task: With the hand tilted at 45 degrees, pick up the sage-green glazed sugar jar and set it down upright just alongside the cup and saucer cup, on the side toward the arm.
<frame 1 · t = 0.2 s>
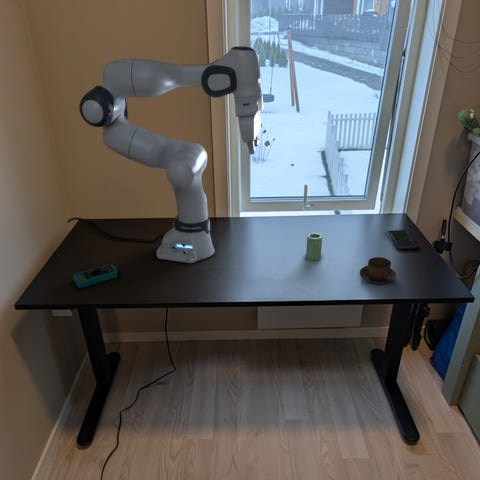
hand: (254, 149, 153), 39 cm above the table, tool pointing down, fingers open, 8 cm apart
cup and saucer: (377, 278, 158), on the table
digital multimeter: (96, 279, 164), on the table
phone: (401, 241, 181), on the table
sugar jar: (313, 256, 172), on the table
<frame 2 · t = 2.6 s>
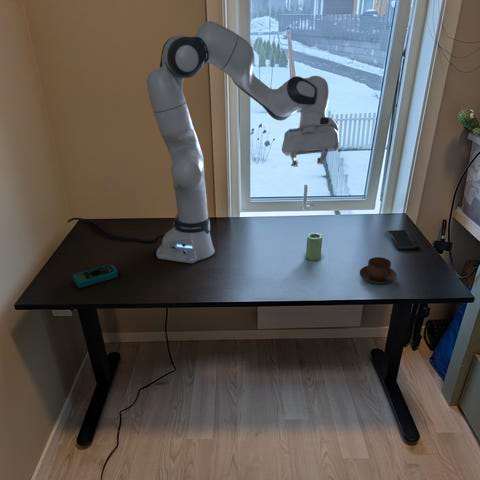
hand: (307, 165, 160), 32 cm above the table, tool tilted 35°, fingers open, 8 cm apart
nothing on the table moved.
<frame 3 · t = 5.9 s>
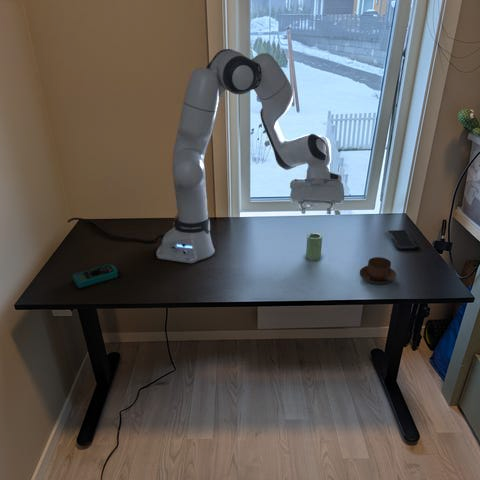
hand: (316, 213, 173), 13 cm above the table, tool tilted 45°, fingers open, 8 cm apart
nothing on the table moved.
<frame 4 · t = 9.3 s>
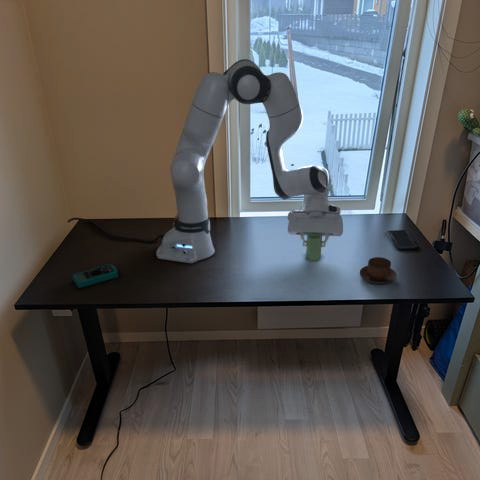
hand: (314, 246, 169), 5 cm above the table, tool tilted 45°, fingers closed on sugar jar, 5 cm apart
sugar jar: (313, 256, 172), on the table, touching gripper
everything else where it was.
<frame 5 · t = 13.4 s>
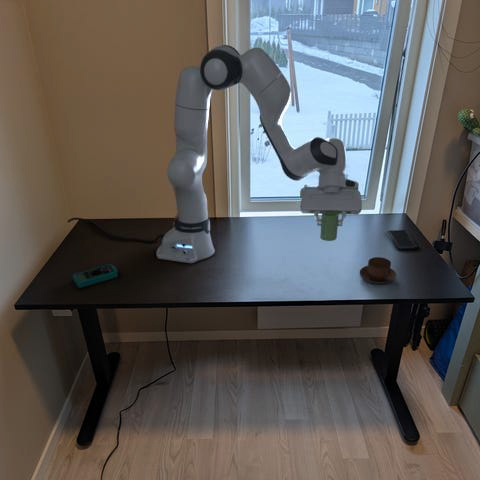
hand: (329, 225, 153), 17 cm above the table, tool tilted 45°, fingers closed on sugar jar, 5 cm apart
sugar jar: (328, 237, 156), point 13 cm above the table, touching gripper
everything else where it was.
when the fingers open (5 cm above the table, at t = 17.9 s): sugar jar stays where it is, on the table.
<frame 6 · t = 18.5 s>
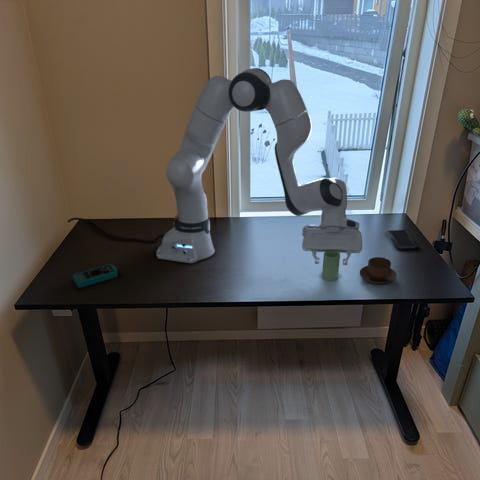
hand: (330, 264, 157), 5 cm above the table, tool tilted 45°, fingers open, 8 cm apart
sugar jar: (329, 276, 160), on the table
everything else where it was.
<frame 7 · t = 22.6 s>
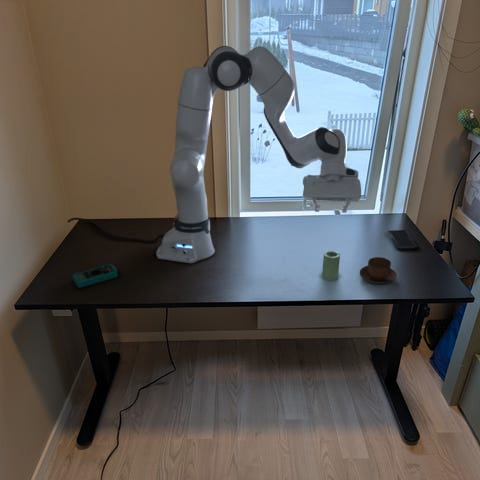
hand: (330, 211, 162), 18 cm above the table, tool tilted 45°, fingers open, 8 cm apart
nothing on the table moved.
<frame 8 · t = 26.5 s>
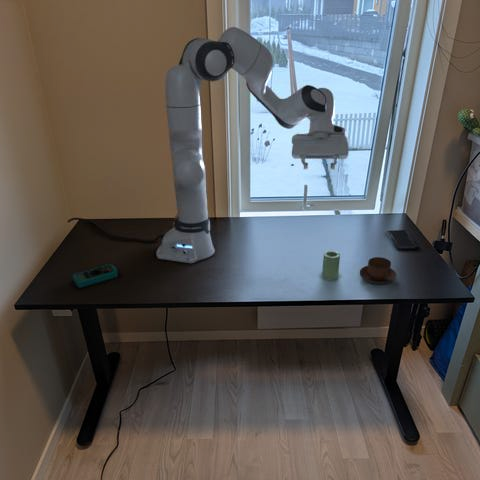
hand: (318, 168, 165), 29 cm above the table, tool tilted 45°, fingers open, 8 cm apart
nothing on the table moved.
at the end: sugar jar inside the target area on the table beside the cup and saucer (1.2 cm from its centre), on the table; sugar jar tilted 0°; cup and saucer moved 0.2 cm from its start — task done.
